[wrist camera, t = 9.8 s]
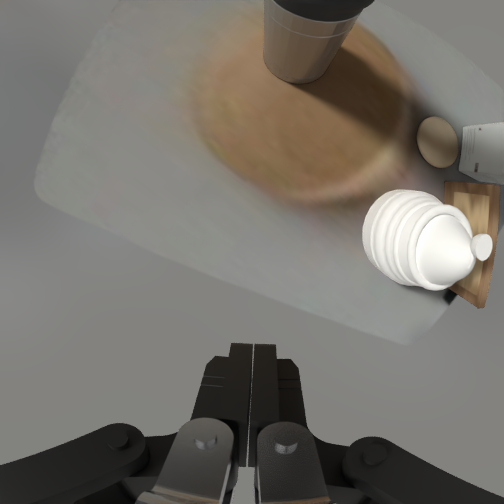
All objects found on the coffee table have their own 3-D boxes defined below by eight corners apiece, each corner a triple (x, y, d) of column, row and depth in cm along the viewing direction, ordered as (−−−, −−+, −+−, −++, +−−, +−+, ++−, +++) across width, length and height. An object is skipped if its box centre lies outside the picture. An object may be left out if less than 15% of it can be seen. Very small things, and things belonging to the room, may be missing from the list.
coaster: (414, 113, 34) (417, 112, 33) (453, 122, 34) (456, 121, 33) (417, 164, 36) (420, 164, 35) (456, 170, 36) (459, 170, 35)
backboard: (443, 181, 36) (493, 184, 25) (450, 182, 36) (500, 185, 24) (435, 280, 40) (477, 308, 28) (441, 280, 40) (484, 307, 28)
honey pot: (380, 175, 37) (456, 174, 19) (444, 209, 37) (525, 229, 20) (348, 259, 40) (404, 311, 22) (415, 284, 40) (482, 337, 23)
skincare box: (461, 126, 34) (523, 115, 19) (484, 139, 34) (544, 134, 19) (457, 174, 36) (521, 176, 21) (480, 185, 36) (542, 192, 21)
